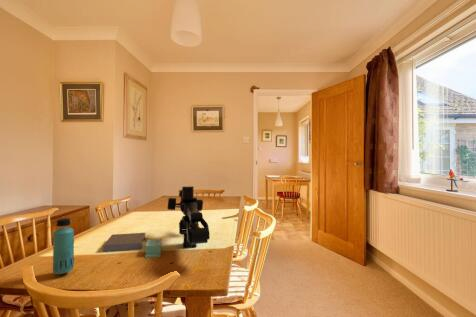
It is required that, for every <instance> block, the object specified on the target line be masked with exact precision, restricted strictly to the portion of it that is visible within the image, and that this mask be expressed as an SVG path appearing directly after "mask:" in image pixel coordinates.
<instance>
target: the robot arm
mask: <svg viewBox="0 0 476 317" xmlns="http://www.w3.org/2000/svg"><path fill="white" fill-rule="evenodd" d="M194 189H195V188H194V186H190V185H189V186H182V187H181V189H180V190H179V192H178V197H179V198H180V201H179V203H178V202H177V198H175V197H169V198H168V200H167V210H170V211H175V210H176V208H178V209H180V211H181V213H182V214H183V215H182V217H181V219H180V221H179V222H178V229H179V235H181V236H183V242H182V248H183V249H187V248H198V246H197V245H198V244H207V243H208V241H209V240H210V228H209V224H208V223H207V221H206V220H205V218H204V217H203V213H202V210H203V205H204V201H203V199H199V198H198V199H197V197H194ZM199 223H200V224H201V226H202V227H200V226H199V225H200V224H199Z"/></svg>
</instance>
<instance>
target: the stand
mask: <svg viewBox="0 0 476 317" xmlns="http://www.w3.org/2000/svg"><path fill="white" fill-rule="evenodd" d="M145 240H146V232H133V233H118V234H117V233H116V234H114V233H113V234H111V235H110V236H109V238H108V239H107V240H106V242H105V243H104V244H103V248H102V250H103V251H102V253H109V252H108V251H110V252H121V251H122V252H123V251H133V250H134V251H135V250H142V248H143V242H144V241H145Z"/></svg>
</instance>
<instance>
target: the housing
mask: <svg viewBox="0 0 476 317" xmlns="http://www.w3.org/2000/svg"><path fill="white" fill-rule="evenodd" d="M162 247H163V246H162V238H159V239H158V238H157V239H147V241H146V244H145V255H144V256H145V259H151V258H160V257H161V253H162V249H163V248H162Z"/></svg>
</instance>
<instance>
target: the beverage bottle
mask: <svg viewBox="0 0 476 317" xmlns="http://www.w3.org/2000/svg"><path fill="white" fill-rule="evenodd" d="M70 225H71V219H70V218H69V217H68V218H67V217H66V218H65V217H64V218H60V219H57V220H56V226H57V227H58V228H57V229H55V230H54V231H53V232H52V238H53V240H52V241H53V242H52V244H53V245H52V247H53V250H52V272H53V274H56V275H62V274H66V273H69V272H71V271H72V270H73V269H74V267H75V266H74V265H75V256H74V255H75V251H74V249H75V235H74V231H75V229H74V228H72V227H70Z"/></svg>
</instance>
